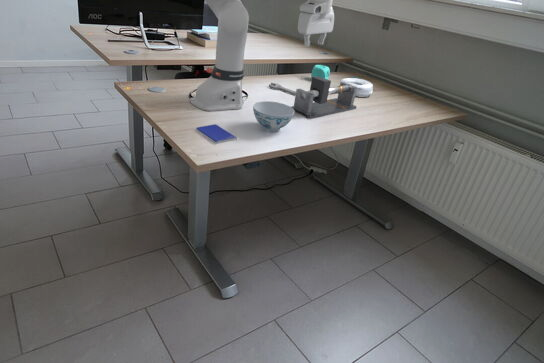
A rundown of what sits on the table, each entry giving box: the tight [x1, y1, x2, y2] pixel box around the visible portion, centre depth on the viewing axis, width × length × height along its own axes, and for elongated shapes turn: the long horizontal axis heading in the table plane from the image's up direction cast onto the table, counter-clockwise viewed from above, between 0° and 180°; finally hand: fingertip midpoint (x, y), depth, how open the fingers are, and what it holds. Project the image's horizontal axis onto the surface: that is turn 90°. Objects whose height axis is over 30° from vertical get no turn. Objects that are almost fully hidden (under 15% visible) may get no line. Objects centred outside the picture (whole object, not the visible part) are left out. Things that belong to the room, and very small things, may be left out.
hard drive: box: [195, 123, 238, 145], centre depth 128 cm, size 2×8×12 cm
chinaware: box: [252, 100, 295, 133], centre depth 138 cm, size 15×15×8 cm
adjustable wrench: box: [268, 82, 296, 96], centre depth 182 cm, size 25×6×2 cm, turn 48°
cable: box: [339, 77, 374, 98], centre depth 198 cm, size 18×18×6 cm
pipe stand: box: [290, 82, 357, 120], centre depth 166 cm, size 32×12×10 cm, turn 133°
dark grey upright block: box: [309, 76, 332, 104], centre depth 160 cm, size 4×7×10 cm, turn 43°
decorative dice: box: [310, 64, 331, 80], centre depth 208 cm, size 8×8×8 cm
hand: (313, 45), depth 148 cm, fingers open, 8 cm apart
